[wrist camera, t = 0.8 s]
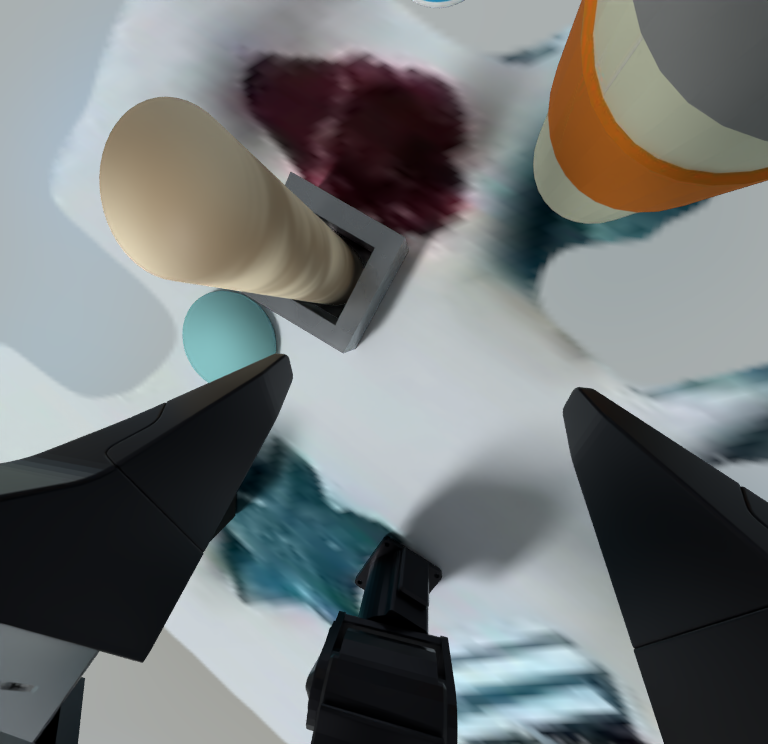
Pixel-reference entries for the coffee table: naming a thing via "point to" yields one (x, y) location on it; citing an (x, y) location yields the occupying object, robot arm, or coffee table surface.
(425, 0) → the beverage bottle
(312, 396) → the coffee table surface
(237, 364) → the mat
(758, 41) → the reusable coffee cup
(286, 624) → the coffee table surface
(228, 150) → the plug
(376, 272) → the socket block
